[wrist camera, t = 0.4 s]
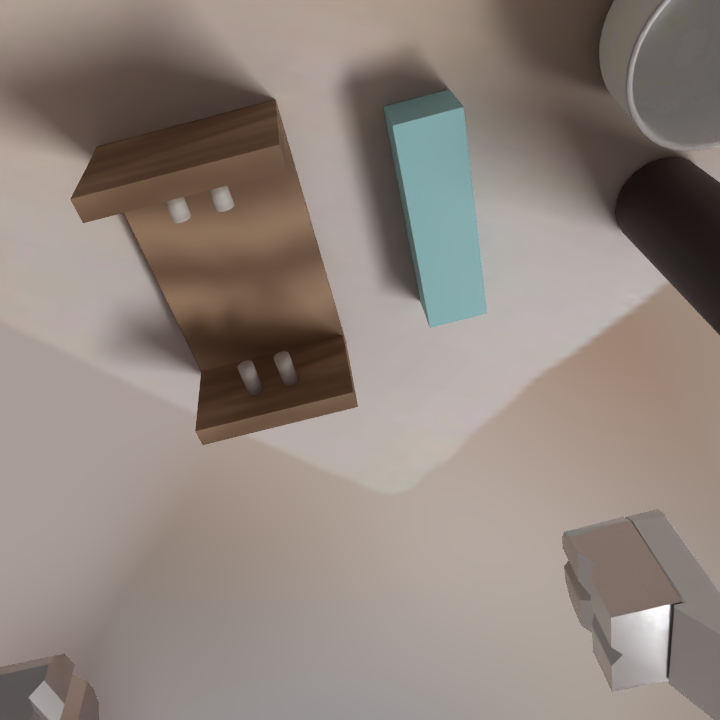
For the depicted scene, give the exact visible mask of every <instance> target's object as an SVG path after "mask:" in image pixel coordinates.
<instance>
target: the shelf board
mask: <svg viewBox="0 0 720 720" xmlns="http://www.w3.org/2000/svg"><path fill="white" fill-rule="evenodd" d="M383 109H384V114H385V120H386V125H387V130H388V135H389V140H390V146H391V151H392V156H393V161H394V167H395V172H396V177H397V182H398V187H399V193H400V198H401V203H402V208H403V213H404V219H405V224H406V229H407V234H408V239H409V245H410V250H411V255H412V260H413V265H414V271H415V276H416V281H417V286H418V292H419V297H420V302H421V304H422V307H423V310H424V313H425V315H426V318H427V321H428V323H429V326H430V328H431V327H435V326H439V325H443V324H447V323H451V322H454V321H458V320H462V319H466V318H470V317H474V316H478V315H482V314H486V313H487V309H486V300H485V291H484V283H483V274H482V265H481V256H480V247H479V239H478V230H477V221H476V212H475V204H474V195H473V186H472V177H471V168H470V160H469V151H468V142H467V133H466V124H465V116H464V107H463V106H462V104H461V103H460V102H459V101H458V99H457V98H456V97H455V96H454V94H453V93H452V92H451V91H450V89H448V90H444V91H441V92H437V93H433V94H429V95H426V96H422V97H418V98H414V99H411V100H407V101H403V102H399V103H396V104H392V105H388V106H384V107H383Z"/></svg>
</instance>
